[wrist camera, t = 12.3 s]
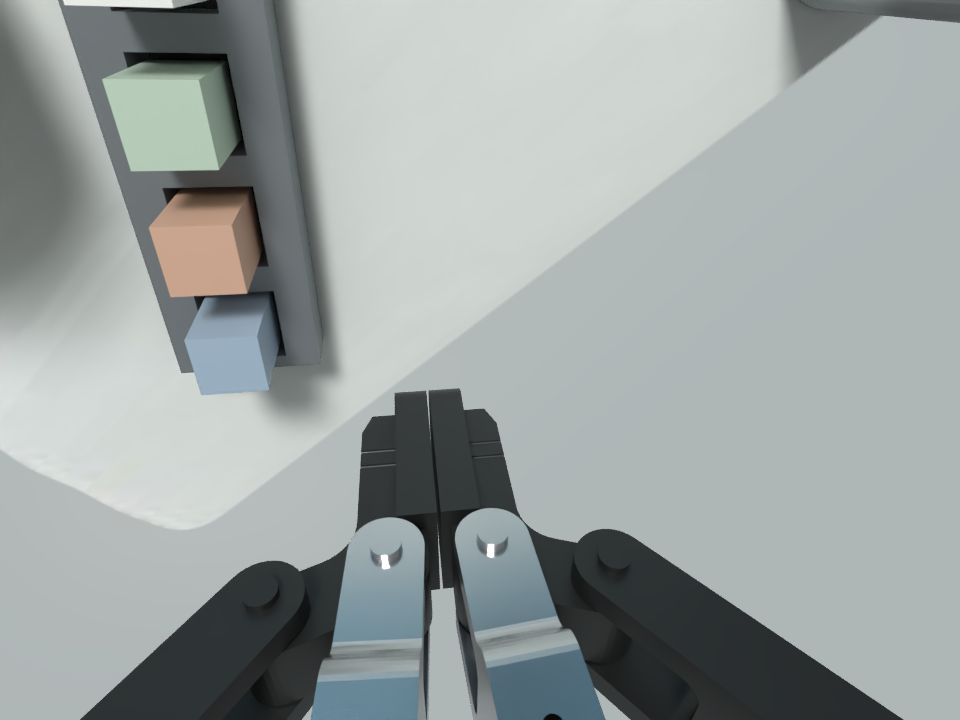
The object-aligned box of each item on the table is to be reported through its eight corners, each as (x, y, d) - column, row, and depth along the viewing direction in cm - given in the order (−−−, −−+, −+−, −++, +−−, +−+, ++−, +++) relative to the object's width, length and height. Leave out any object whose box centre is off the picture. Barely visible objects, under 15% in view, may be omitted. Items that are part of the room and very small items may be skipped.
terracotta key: (251, 186, 38) (231, 225, 32) (263, 247, 40) (247, 293, 35) (181, 187, 37) (148, 227, 32) (198, 250, 40) (170, 297, 34)
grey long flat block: (253, -132, 31) (240, -143, 27) (323, 336, 48) (319, 363, 44) (45, -145, 29) (5, -159, 26) (194, 344, 46) (181, 373, 43)
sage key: (226, 60, 34) (198, 79, 28) (242, 138, 36) (219, 170, 30) (147, 59, 33) (101, 79, 27) (168, 138, 35) (131, 171, 30)
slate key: (271, 286, 42) (256, 336, 36) (281, 336, 45) (269, 390, 39) (208, 289, 41) (184, 340, 36) (222, 339, 44) (201, 395, 38)
